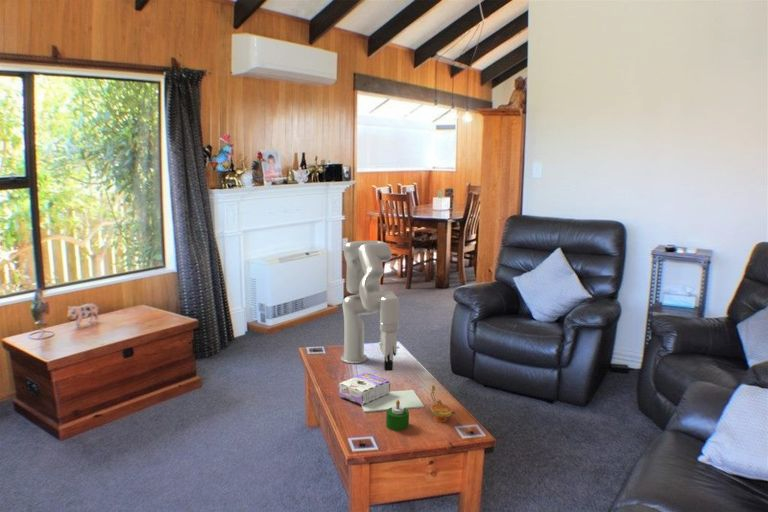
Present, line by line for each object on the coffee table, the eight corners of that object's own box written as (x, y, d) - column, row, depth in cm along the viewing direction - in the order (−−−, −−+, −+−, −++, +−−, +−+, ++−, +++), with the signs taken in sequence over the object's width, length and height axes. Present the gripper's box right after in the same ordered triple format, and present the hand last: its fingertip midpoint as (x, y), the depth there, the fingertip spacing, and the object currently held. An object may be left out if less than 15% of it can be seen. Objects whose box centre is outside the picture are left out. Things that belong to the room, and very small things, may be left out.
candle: (391, 432, 210) (392, 406, 208) (382, 422, 217) (383, 397, 216) (412, 428, 213) (413, 402, 211) (402, 419, 221) (403, 394, 219)
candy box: (366, 385, 251) (338, 396, 239) (366, 372, 250) (338, 382, 238) (390, 394, 242) (362, 406, 230) (390, 380, 241) (362, 391, 229)
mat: (356, 395, 241) (356, 394, 241) (413, 391, 246) (413, 389, 246) (364, 412, 226) (364, 410, 226) (423, 407, 231) (423, 405, 231)
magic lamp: (446, 432, 210) (447, 404, 208) (423, 412, 226) (423, 385, 225) (462, 429, 213) (464, 401, 211) (438, 409, 229) (439, 382, 227)
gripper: (376, 321, 240) (375, 364, 243) (384, 332, 226) (383, 377, 229) (393, 320, 242) (393, 362, 245) (403, 331, 227) (402, 376, 230)
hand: (388, 369), depth 237 cm, fingers closed
